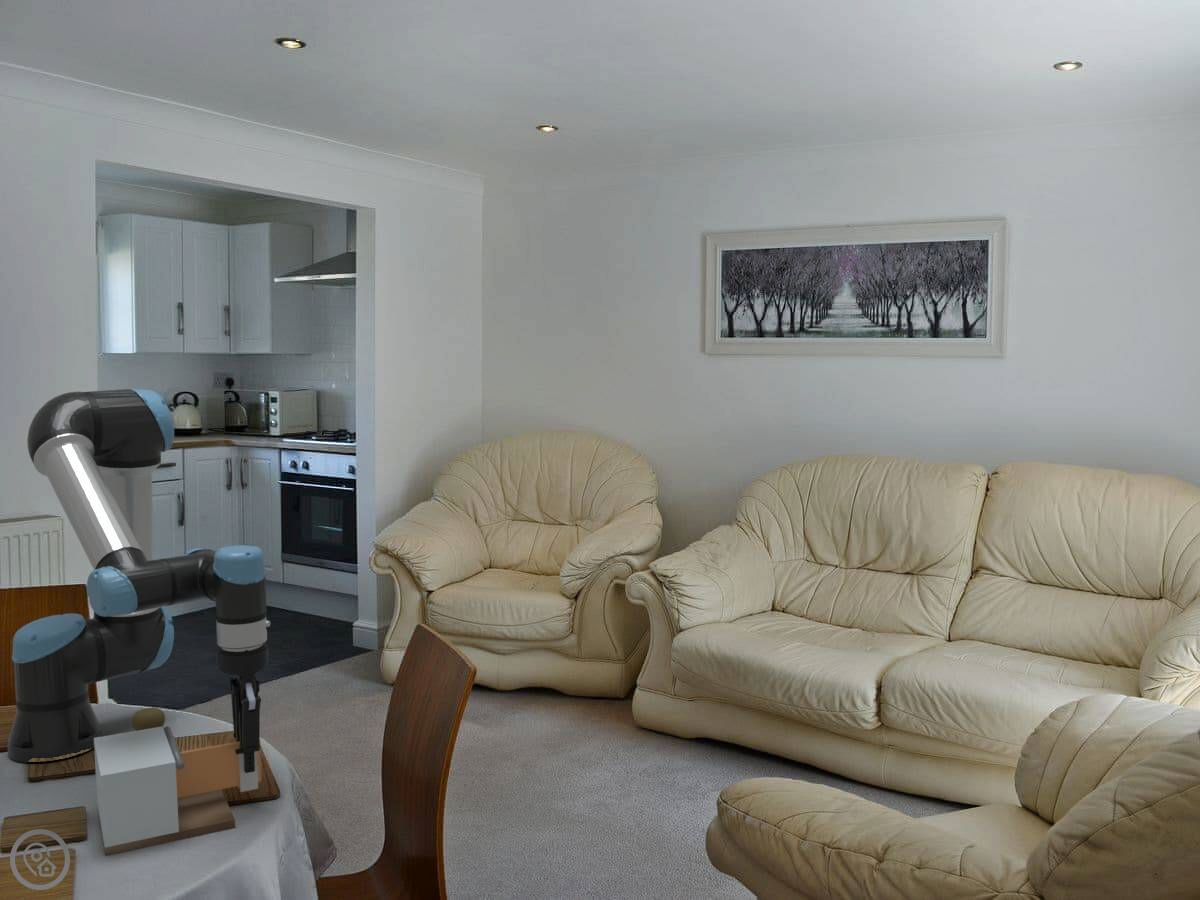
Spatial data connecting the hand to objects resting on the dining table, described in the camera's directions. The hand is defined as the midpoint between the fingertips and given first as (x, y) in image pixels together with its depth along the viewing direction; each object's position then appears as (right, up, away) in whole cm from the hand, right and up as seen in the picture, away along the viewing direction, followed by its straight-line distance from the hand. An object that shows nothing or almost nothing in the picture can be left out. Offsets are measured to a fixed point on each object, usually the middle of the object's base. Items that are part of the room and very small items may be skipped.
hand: (248, 787), depth 169 cm
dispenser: (-14, -2, -7) cm, 16 cm away
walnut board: (-11, -3, -6) cm, 13 cm away
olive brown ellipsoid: (-21, -1, +12) cm, 24 cm away
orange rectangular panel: (-5, 0, -3) cm, 6 cm away
